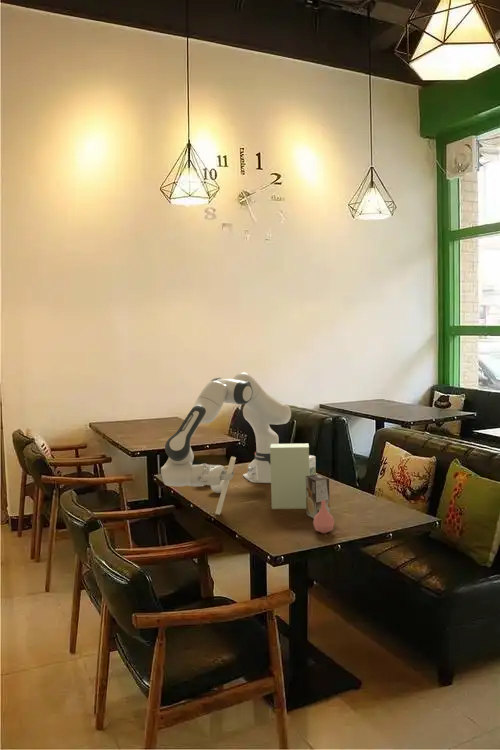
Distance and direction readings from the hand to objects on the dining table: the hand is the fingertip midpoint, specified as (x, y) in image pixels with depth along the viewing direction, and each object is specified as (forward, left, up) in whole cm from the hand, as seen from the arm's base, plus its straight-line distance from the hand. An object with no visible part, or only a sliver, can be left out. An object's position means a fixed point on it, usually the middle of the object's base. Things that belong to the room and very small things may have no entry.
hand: (233, 474), depth 267 cm
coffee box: (+23, +25, -16) cm, 38 cm away
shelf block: (+5, +25, -16) cm, 30 cm away
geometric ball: (-33, +10, -16) cm, 38 cm away
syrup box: (-17, +49, -16) cm, 54 cm away
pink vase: (+40, +15, -16) cm, 46 cm away
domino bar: (-2, -4, -4) cm, 6 cm away
